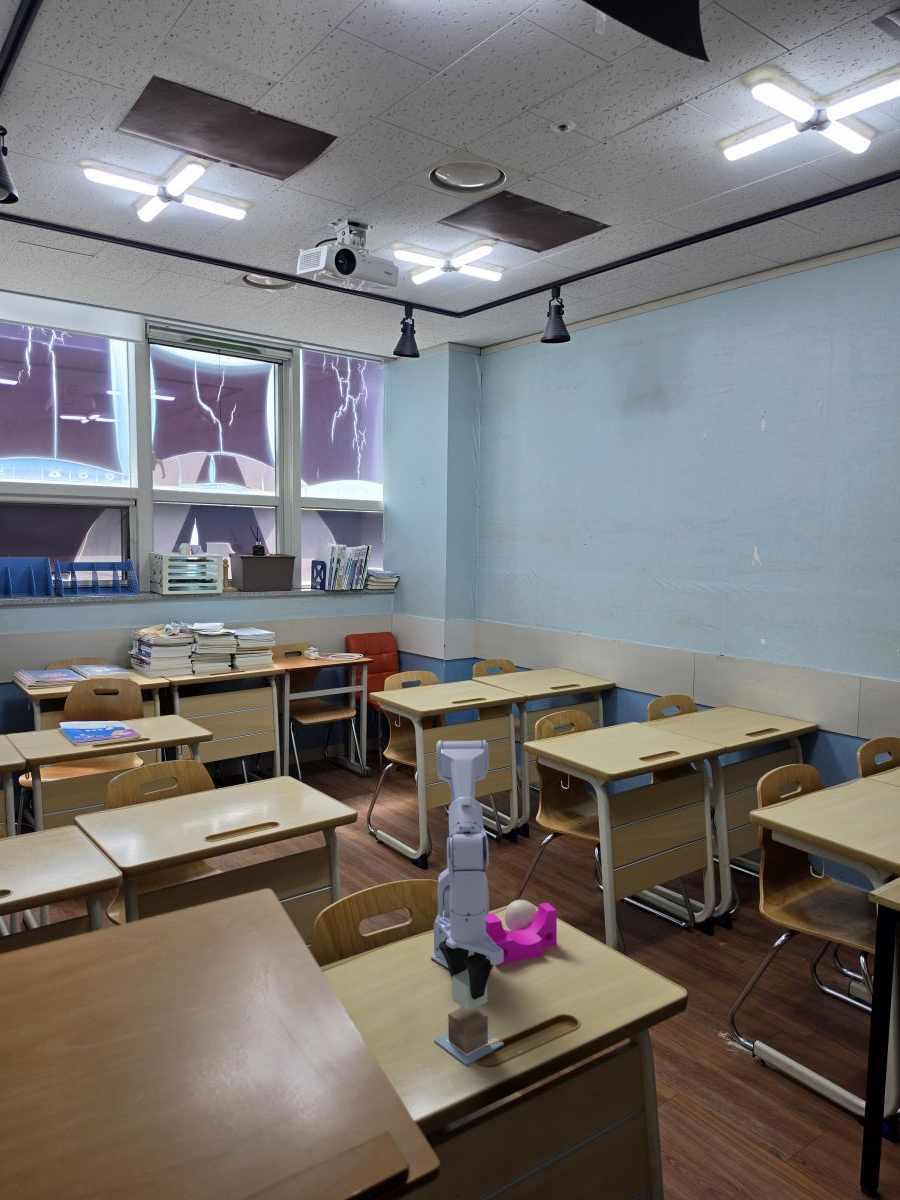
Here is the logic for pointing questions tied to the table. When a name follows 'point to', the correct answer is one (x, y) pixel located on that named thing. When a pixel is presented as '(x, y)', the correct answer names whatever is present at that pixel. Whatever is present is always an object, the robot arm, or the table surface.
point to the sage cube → (465, 992)
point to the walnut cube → (468, 1029)
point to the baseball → (519, 914)
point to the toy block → (525, 935)
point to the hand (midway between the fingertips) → (468, 990)
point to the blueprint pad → (461, 1055)
